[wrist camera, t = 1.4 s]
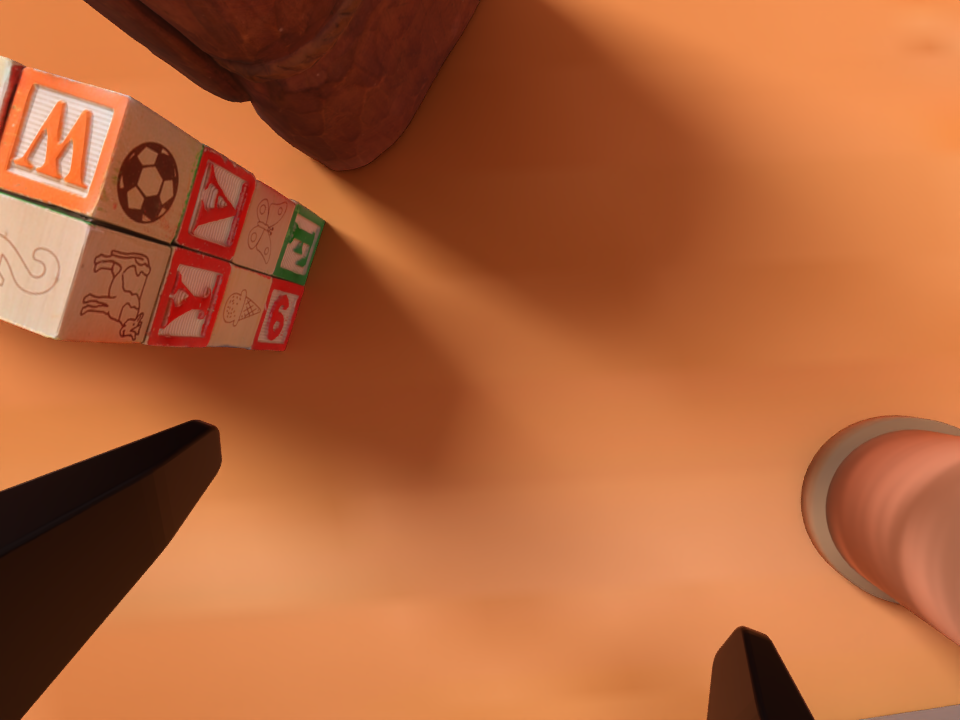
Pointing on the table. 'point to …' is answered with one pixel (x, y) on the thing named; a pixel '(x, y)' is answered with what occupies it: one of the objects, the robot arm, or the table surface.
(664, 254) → the table surface
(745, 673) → the robot arm
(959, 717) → the gray square frame
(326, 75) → the wooden figurine
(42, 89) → the stack of blocks
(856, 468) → the cord spool
